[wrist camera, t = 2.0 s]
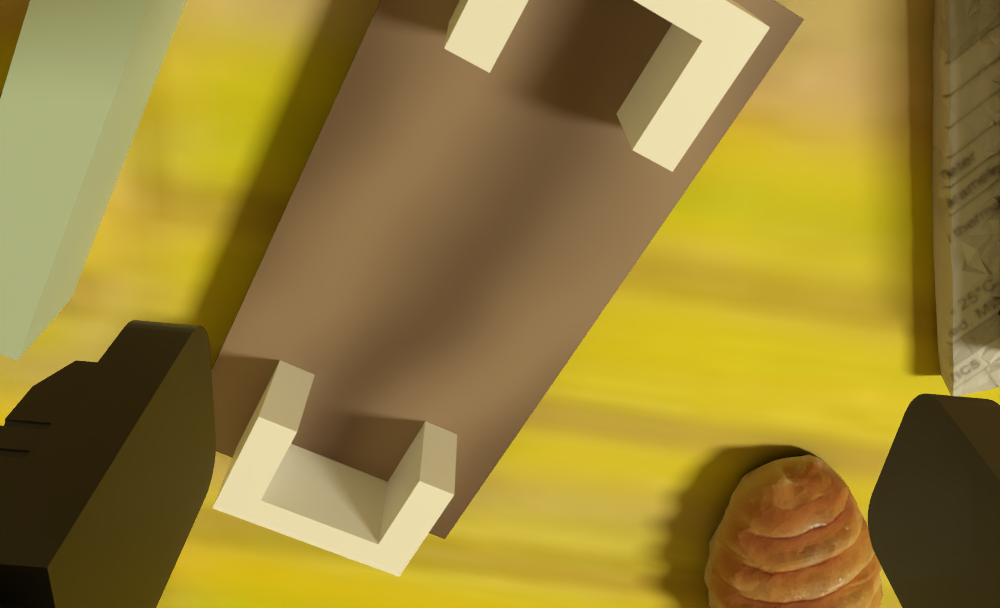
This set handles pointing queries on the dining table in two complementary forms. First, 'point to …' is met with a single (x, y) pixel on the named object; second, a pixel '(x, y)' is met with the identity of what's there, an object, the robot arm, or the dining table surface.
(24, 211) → the slat
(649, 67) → the cap near
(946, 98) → the packaged product
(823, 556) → the pastry
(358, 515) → the cap far
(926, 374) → the dining table surface
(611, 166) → the board
